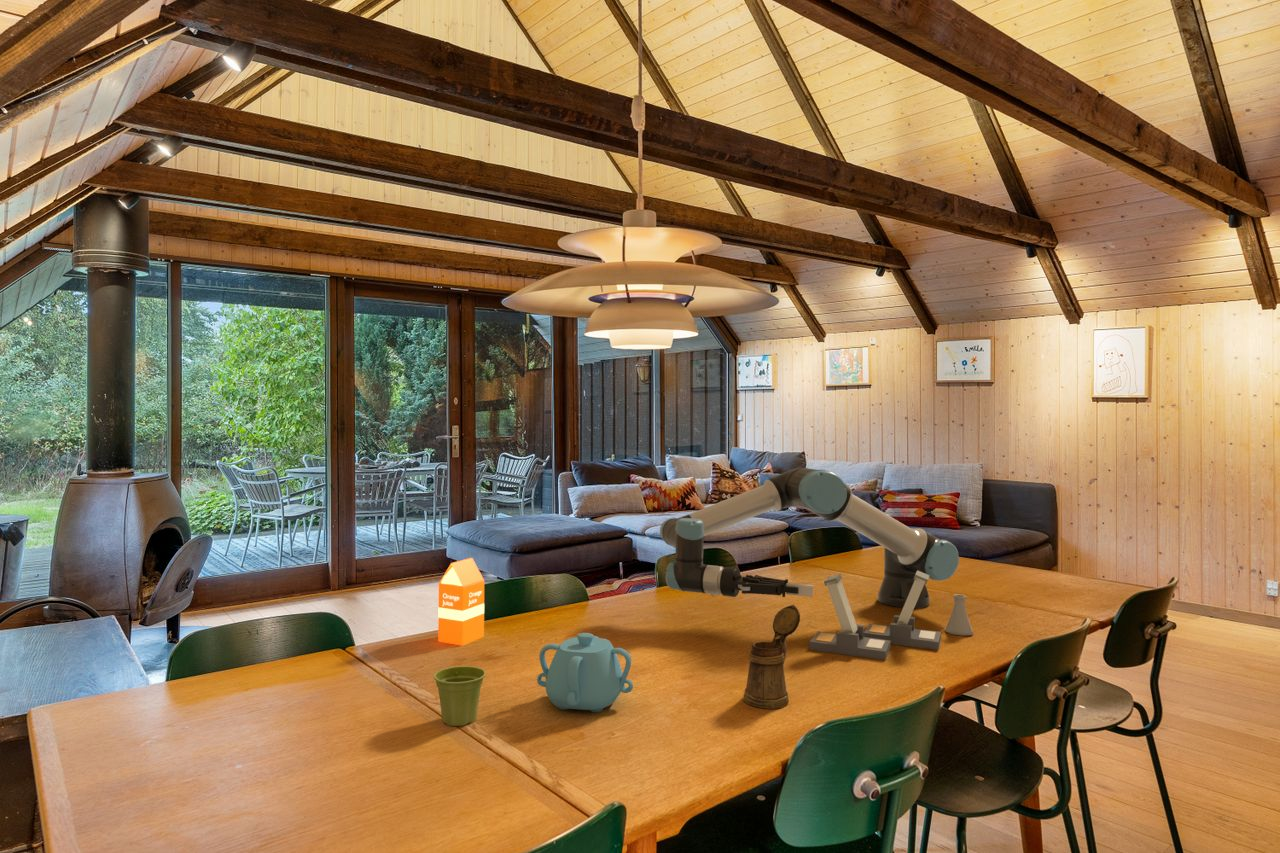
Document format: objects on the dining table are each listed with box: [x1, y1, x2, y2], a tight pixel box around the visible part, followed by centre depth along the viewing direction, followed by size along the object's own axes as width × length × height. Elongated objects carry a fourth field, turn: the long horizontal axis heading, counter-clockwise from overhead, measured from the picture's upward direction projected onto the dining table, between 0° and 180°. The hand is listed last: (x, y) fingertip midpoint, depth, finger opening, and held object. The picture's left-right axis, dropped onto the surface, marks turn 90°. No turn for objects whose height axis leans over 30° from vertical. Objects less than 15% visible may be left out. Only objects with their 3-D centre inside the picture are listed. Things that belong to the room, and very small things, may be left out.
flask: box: [944, 593, 974, 636], centre depth 204 cm, size 7×7×10 cm
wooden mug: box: [743, 604, 801, 710], centre depth 155 cm, size 9×14×18 cm, turn 132°
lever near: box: [823, 573, 857, 633], centre depth 189 cm, size 3×6×15 cm, turn 155°
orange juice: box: [437, 557, 485, 647], centre depth 193 cm, size 8×9×20 cm
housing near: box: [809, 623, 892, 661], centre depth 189 cm, size 18×10×5 cm, turn 65°
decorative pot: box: [536, 632, 634, 713], centre depth 151 cm, size 16×16×14 cm
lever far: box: [897, 570, 930, 625], centre depth 196 cm, size 3×6×15 cm, turn 155°
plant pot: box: [433, 665, 487, 727], centre depth 142 cm, size 9×9×9 cm
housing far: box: [864, 614, 942, 651], centre depth 197 cm, size 18×10×5 cm, turn 65°
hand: (812, 591), depth 192 cm, fingers closed
